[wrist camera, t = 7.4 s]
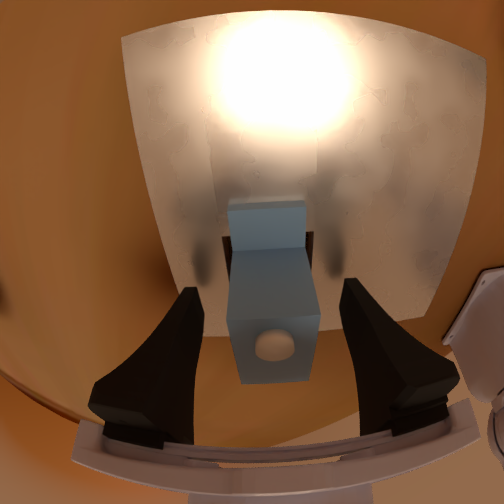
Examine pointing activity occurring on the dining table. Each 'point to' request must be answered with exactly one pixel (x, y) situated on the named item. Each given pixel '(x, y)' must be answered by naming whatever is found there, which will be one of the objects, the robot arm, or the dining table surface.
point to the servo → (271, 293)
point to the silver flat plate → (308, 147)
